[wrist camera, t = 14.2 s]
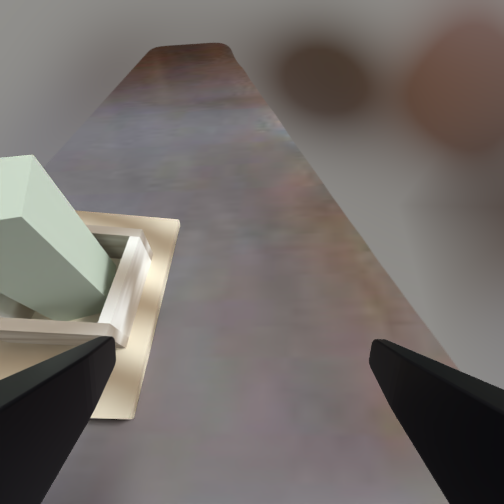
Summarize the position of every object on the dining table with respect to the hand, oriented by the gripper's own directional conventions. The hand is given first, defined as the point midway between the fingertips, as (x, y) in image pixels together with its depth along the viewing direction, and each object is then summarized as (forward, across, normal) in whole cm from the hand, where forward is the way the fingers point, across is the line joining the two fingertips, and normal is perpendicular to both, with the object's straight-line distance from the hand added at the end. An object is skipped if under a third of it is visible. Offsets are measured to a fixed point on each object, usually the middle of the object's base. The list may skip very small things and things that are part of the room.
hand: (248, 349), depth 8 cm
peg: (+14, +13, +4) cm, 19 cm away
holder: (+14, +13, +4) cm, 20 cm away
